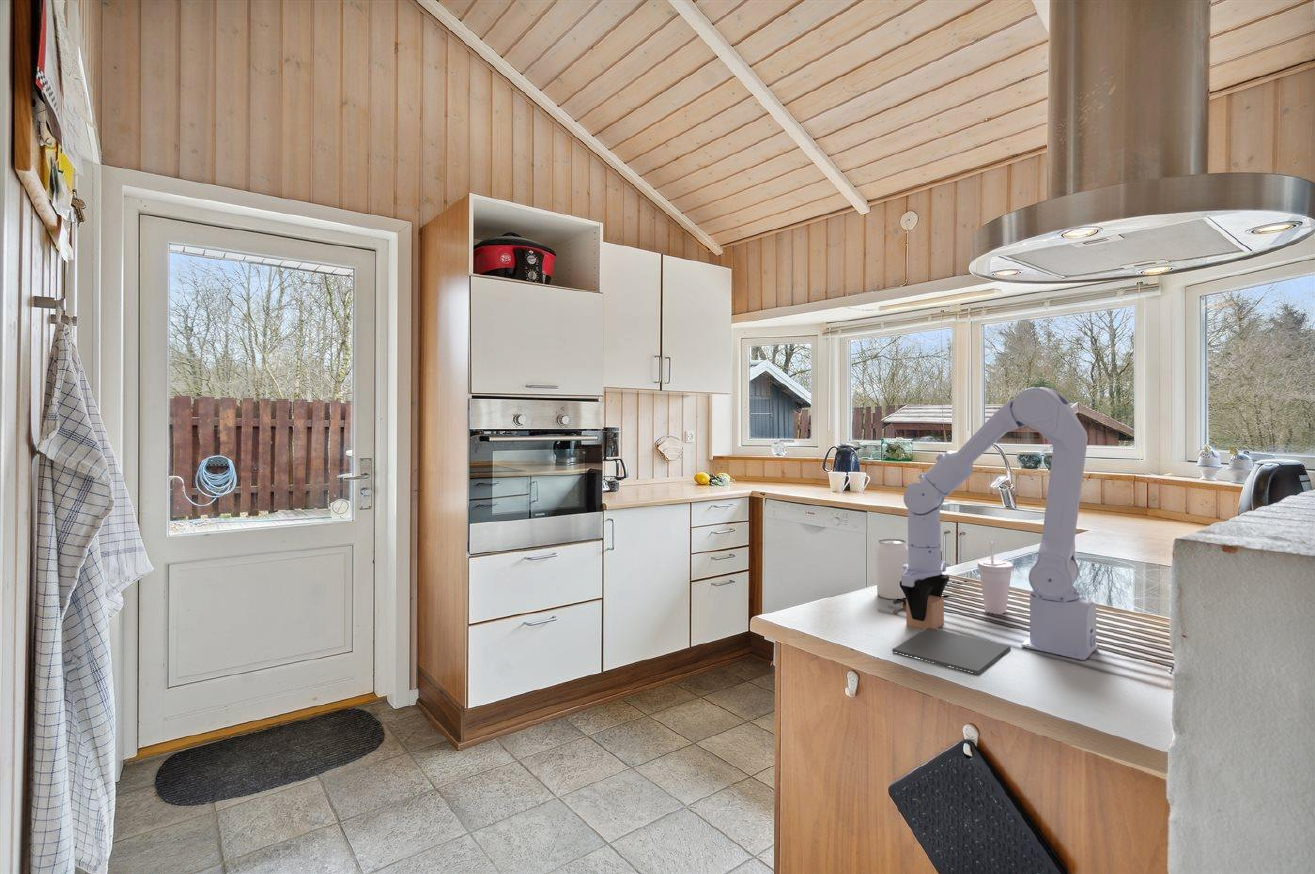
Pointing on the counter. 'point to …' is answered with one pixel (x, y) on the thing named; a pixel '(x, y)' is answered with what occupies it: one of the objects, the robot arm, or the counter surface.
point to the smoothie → (995, 583)
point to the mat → (952, 650)
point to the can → (891, 567)
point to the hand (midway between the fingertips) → (925, 615)
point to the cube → (928, 614)
